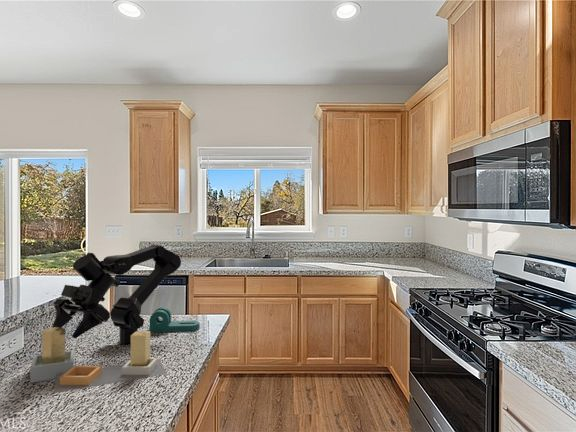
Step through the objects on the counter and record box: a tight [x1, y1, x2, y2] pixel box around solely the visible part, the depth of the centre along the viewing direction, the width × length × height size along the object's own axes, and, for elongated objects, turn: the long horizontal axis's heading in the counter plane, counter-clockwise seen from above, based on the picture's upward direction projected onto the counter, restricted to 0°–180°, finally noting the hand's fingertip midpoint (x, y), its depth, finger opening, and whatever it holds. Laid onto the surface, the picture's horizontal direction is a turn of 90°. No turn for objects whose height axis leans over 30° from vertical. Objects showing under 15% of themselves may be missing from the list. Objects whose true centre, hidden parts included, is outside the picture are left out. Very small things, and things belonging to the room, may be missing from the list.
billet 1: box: [41, 327, 66, 365], centre depth 112 cm, size 4×4×10 cm
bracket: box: [149, 306, 201, 333], centre depth 155 cm, size 18×7×8 cm, turn 98°
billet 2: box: [130, 330, 151, 366], centre depth 111 cm, size 4×4×10 cm
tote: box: [29, 349, 75, 384], centre depth 112 cm, size 10×10×4 cm
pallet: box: [52, 357, 167, 394], centre depth 108 cm, size 12×26×4 cm, turn 117°
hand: (62, 335), depth 115 cm, fingers open, 9 cm apart
